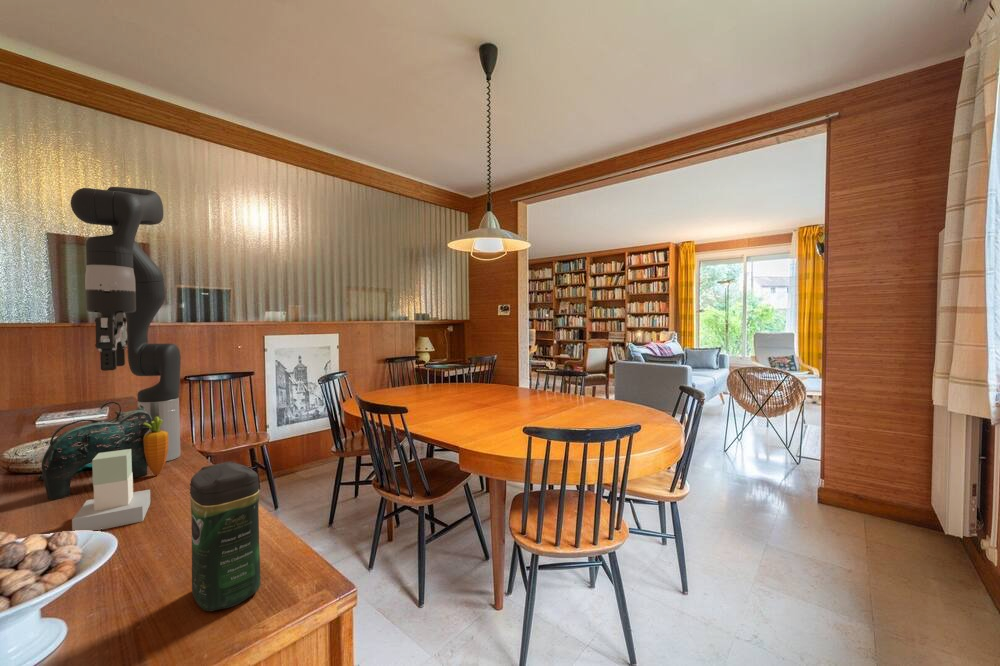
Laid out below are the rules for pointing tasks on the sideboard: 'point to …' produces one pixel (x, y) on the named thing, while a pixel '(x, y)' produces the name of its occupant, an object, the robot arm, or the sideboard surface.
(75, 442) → the dark green arched piece
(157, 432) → the carrot
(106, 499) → the cream block
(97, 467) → the sage block
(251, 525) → the coffee jar
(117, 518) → the base slab
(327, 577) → the sideboard surface
